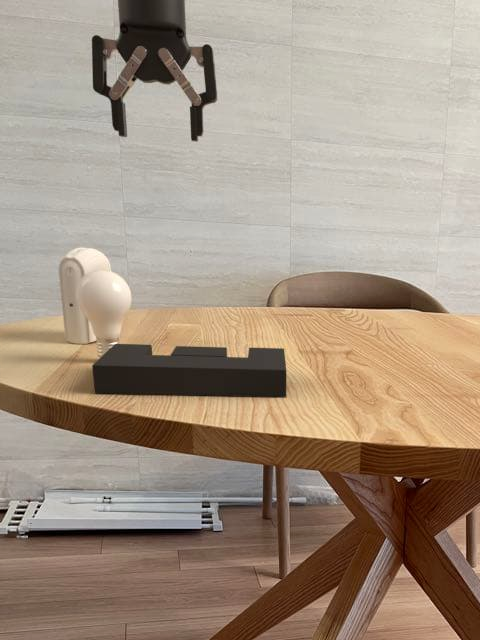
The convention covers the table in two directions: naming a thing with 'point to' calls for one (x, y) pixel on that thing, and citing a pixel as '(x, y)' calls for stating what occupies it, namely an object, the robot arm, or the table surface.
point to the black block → (199, 351)
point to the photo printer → (69, 276)
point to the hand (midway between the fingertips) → (158, 138)
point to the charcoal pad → (190, 373)
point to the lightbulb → (104, 305)
